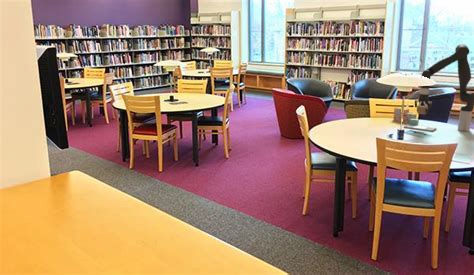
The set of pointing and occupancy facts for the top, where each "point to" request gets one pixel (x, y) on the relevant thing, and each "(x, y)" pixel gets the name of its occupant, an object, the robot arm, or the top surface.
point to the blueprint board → (419, 128)
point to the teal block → (414, 122)
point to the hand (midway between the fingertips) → (421, 112)
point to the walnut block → (421, 110)
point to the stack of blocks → (406, 115)
